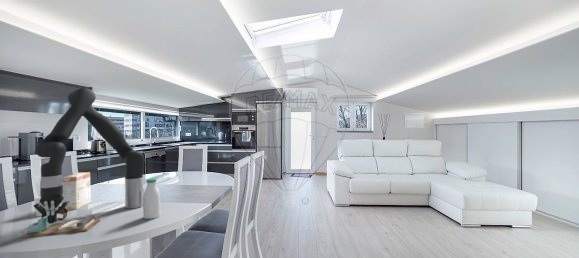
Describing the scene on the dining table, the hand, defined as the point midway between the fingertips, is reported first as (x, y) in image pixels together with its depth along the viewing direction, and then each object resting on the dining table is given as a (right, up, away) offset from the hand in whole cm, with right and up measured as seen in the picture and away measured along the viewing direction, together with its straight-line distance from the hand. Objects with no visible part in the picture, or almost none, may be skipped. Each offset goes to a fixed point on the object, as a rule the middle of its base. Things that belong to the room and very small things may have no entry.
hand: (52, 222), depth 115 cm
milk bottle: (+37, -3, +16) cm, 41 cm away
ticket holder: (+5, -3, +2) cm, 6 cm away
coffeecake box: (-20, -4, +37) cm, 42 cm away
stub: (-4, -2, -1) cm, 5 cm away
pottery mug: (-12, -4, +12) cm, 17 cm away
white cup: (-26, -4, +23) cm, 35 cm away
